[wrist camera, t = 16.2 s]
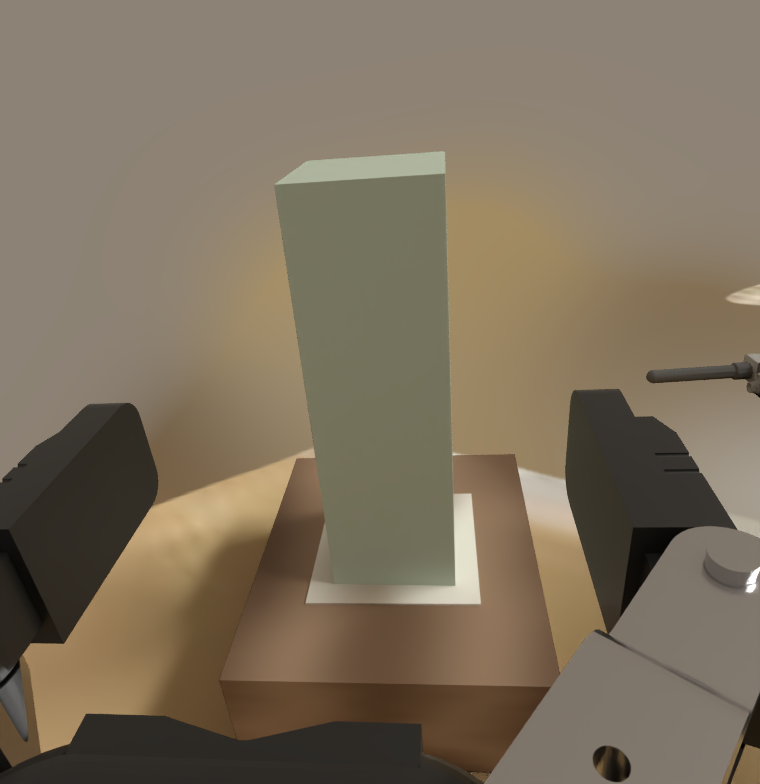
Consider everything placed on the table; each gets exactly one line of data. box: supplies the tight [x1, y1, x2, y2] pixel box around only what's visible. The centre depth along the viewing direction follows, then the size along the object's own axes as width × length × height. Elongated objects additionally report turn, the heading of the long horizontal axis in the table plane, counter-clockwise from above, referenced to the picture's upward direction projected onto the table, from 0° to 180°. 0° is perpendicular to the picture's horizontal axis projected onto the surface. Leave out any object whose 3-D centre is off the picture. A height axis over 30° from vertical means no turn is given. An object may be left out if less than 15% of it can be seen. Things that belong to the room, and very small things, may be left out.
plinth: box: [219, 454, 560, 772], centre depth 29 cm, size 12×14×5 cm
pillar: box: [274, 151, 455, 586], centre depth 24 cm, size 5×5×16 cm
